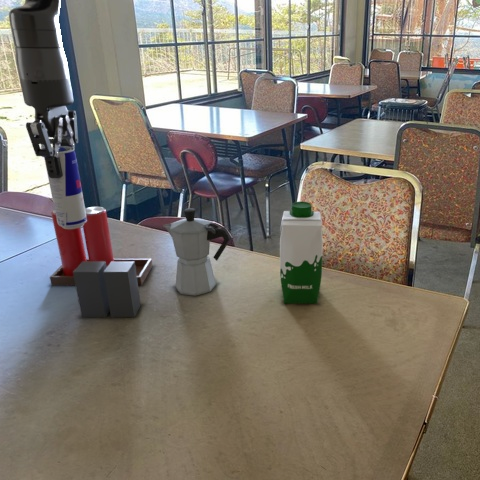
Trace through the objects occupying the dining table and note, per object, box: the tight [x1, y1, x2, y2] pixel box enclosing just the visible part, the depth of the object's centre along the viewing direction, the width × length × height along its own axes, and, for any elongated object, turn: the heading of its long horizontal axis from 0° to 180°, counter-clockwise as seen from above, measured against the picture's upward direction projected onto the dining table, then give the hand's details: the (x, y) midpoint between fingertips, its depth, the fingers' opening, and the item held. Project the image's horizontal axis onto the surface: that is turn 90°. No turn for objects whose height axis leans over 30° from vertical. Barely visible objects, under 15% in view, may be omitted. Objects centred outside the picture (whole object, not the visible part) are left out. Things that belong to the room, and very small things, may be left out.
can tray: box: [49, 258, 153, 287], centre depth 109 cm, size 19×9×2 cm, turn 93°
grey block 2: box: [103, 261, 142, 318], centre depth 94 cm, size 4×4×10 cm
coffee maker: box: [162, 207, 232, 297], centre depth 102 cm, size 15×9×18 cm, turn 80°
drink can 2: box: [82, 206, 115, 266], centre depth 106 cm, size 5×5×15 cm
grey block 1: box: [73, 261, 110, 318], centre depth 94 cm, size 4×4×10 cm
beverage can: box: [43, 146, 87, 229], centre depth 89 cm, size 5×5×15 cm
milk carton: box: [279, 201, 324, 305], centre depth 100 cm, size 9×9×20 cm
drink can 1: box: [50, 209, 88, 276], centre depth 105 cm, size 5×5×15 cm
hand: (63, 172), depth 88 cm, fingers closed on beverage can, 5 cm apart
